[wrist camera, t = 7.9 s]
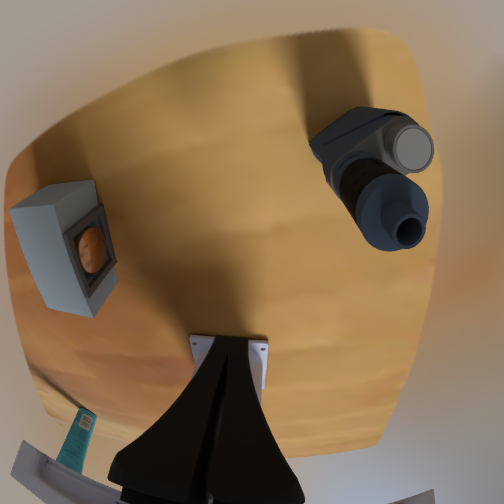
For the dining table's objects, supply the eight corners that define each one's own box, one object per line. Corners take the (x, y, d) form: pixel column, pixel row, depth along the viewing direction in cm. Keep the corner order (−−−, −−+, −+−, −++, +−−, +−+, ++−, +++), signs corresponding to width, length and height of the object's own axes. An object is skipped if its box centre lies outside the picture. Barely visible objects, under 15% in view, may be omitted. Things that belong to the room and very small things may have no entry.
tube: (79, 410, 49) (57, 469, 32) (73, 403, 46) (48, 464, 30) (103, 421, 49) (83, 483, 33) (98, 414, 47) (75, 479, 30)
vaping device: (300, 145, 16) (348, 223, 6) (360, 99, 14) (487, 115, 4) (324, 174, 17) (391, 286, 7) (382, 130, 15) (510, 190, 5)
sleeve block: (73, 275, 24) (47, 307, 19) (47, 185, 19) (9, 208, 14) (122, 281, 24) (98, 319, 19) (98, 178, 18) (58, 204, 14)
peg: (56, 253, 22) (35, 274, 18) (46, 220, 20) (22, 239, 17) (109, 257, 21) (89, 282, 18) (100, 219, 19) (75, 241, 16)
